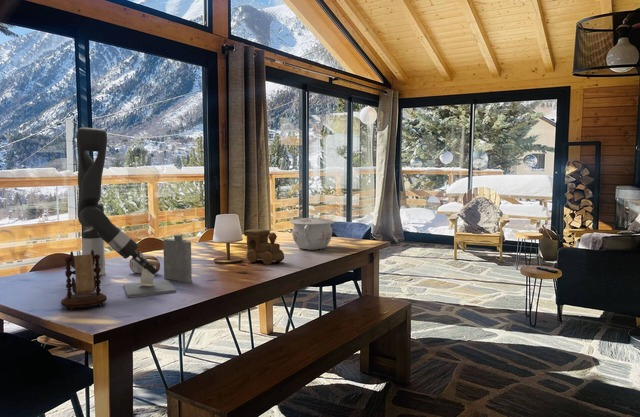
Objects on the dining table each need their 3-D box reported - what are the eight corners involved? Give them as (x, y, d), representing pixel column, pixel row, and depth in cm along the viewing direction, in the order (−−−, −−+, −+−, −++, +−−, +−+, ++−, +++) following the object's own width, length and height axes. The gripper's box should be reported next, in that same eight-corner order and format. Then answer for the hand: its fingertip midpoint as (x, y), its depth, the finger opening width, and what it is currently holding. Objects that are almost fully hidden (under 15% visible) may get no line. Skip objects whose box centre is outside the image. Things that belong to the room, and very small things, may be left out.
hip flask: (162, 278, 219) (161, 233, 217) (169, 276, 222) (168, 232, 220) (187, 282, 210) (186, 236, 208) (194, 281, 214) (193, 235, 212)
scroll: (64, 314, 165) (62, 255, 163) (58, 304, 177) (55, 249, 175) (111, 307, 174) (109, 251, 172) (101, 297, 186) (100, 245, 184)
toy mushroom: (138, 285, 195) (143, 260, 195) (137, 281, 201) (142, 258, 201) (154, 287, 198) (159, 263, 198) (153, 283, 204) (158, 260, 204)
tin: (160, 274, 227) (160, 256, 226) (156, 275, 224) (156, 257, 223) (132, 272, 231) (132, 254, 231) (128, 273, 228) (128, 255, 227)
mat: (123, 286, 202) (123, 284, 202) (168, 282, 210) (168, 280, 210) (127, 297, 186) (127, 294, 186) (175, 292, 194) (175, 289, 194)
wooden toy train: (243, 261, 257) (242, 230, 256) (257, 258, 266) (257, 228, 265) (272, 266, 246) (272, 233, 244) (286, 262, 255) (286, 231, 254)
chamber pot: (315, 243, 320) (315, 211, 318) (343, 249, 298) (344, 215, 297) (280, 247, 302) (280, 214, 300) (307, 254, 281) (307, 218, 279)
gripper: (131, 239, 189) (163, 267, 195) (129, 235, 202) (159, 261, 208) (116, 254, 187) (149, 281, 193) (115, 248, 200) (146, 274, 206)
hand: (154, 271), depth 201 cm, fingers open, 6 cm apart
